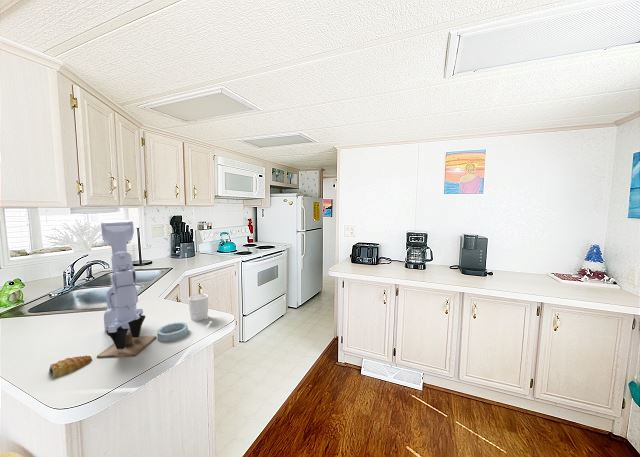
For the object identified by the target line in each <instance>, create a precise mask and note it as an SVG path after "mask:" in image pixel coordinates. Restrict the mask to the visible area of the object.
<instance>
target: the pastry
mask: <svg viewBox="0 0 640 457" xmlns="http://www.w3.org/2000/svg"><path fill="white" fill-rule="evenodd" d="M92 361H93V359H92V356H91V355H83V356H82V355H80V356H73V357H66V358H64V359H61V360H58V361H56V362H55V363H51V364H50V367H49V370H48V372H49V373H51V374H52V376H51V378H52V379H55V378H60V377H63V376H66V375H67V374H70V373H73V372H75V371H77V370H79V369H81V368H83V367H86V366H87V365H88V364H90V363H91V362H92Z"/></svg>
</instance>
